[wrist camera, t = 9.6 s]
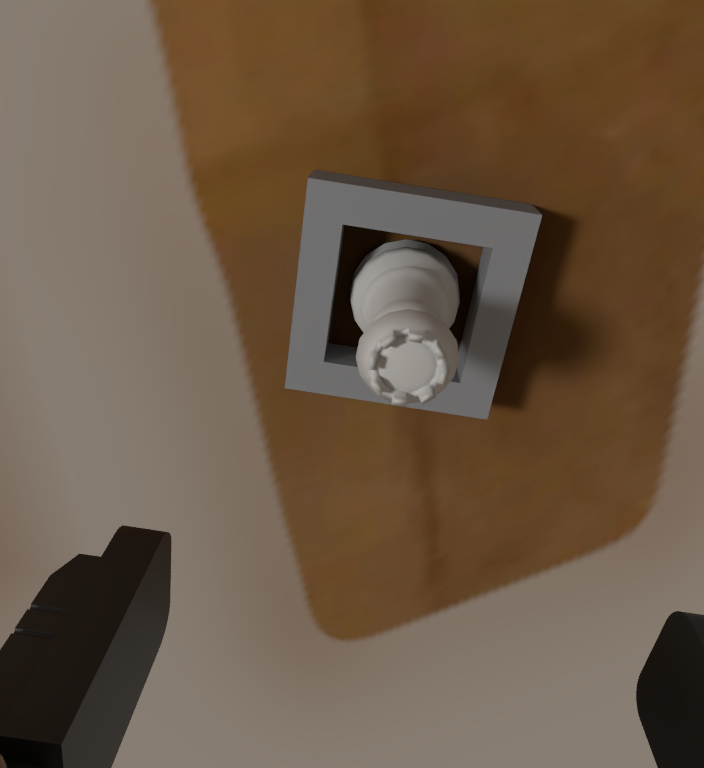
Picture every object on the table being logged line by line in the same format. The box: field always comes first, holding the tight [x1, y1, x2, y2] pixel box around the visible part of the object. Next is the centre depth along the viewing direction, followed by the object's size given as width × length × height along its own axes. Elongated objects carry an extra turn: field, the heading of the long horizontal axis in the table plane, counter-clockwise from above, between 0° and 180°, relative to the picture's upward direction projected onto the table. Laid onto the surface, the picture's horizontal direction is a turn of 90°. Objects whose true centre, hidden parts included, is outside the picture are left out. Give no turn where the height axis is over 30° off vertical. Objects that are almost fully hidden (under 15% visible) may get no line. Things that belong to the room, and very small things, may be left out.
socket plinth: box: [285, 170, 542, 419], centre depth 26 cm, size 8×8×2 cm
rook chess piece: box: [350, 239, 460, 407], centre depth 24 cm, size 4×4×8 cm
